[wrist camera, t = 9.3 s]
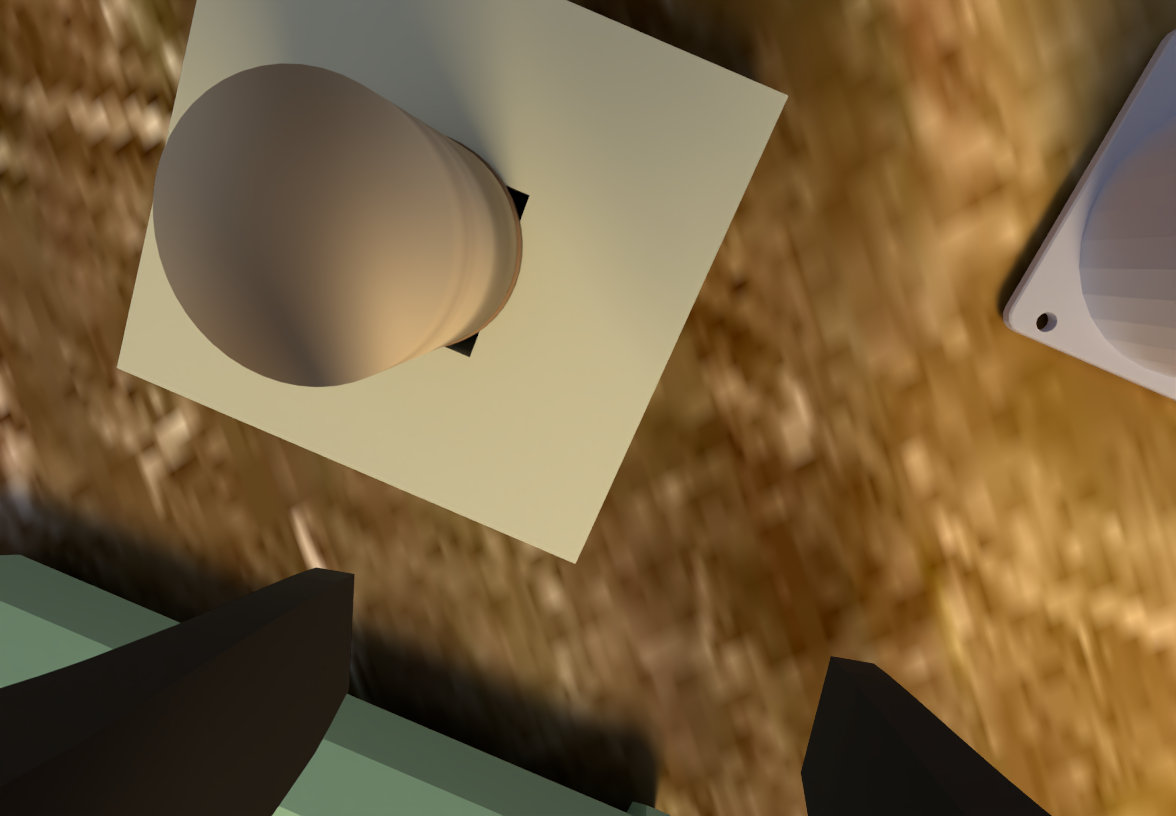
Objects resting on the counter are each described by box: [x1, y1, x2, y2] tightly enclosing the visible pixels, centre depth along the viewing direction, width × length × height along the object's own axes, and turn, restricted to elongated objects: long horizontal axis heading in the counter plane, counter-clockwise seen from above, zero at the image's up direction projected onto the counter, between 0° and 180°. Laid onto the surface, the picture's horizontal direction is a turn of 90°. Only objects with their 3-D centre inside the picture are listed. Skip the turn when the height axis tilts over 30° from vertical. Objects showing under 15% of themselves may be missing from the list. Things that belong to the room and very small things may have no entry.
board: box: [117, 0, 788, 564], centre depth 17 cm, size 14×13×2 cm
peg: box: [153, 63, 523, 387], centre depth 14 cm, size 5×5×8 cm
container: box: [0, 555, 670, 816], centre depth 20 cm, size 6×6×25 cm
